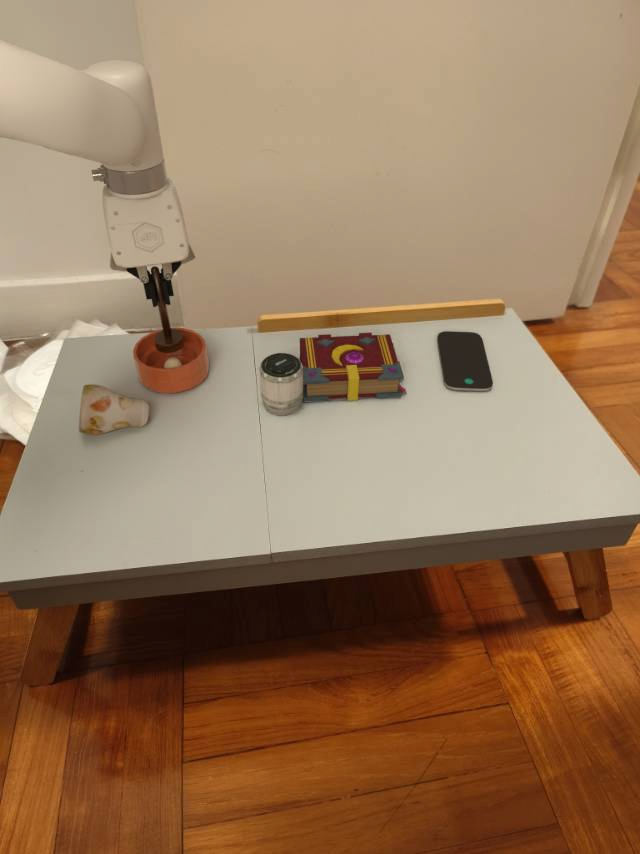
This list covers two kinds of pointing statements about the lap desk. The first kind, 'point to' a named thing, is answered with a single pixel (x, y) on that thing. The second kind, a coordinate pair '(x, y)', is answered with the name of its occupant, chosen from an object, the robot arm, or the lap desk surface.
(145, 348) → the bowl
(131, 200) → the robot arm
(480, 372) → the smartphone
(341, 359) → the decorative book
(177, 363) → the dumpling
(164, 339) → the round knob peg
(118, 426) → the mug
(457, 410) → the lap desk surface
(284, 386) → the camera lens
